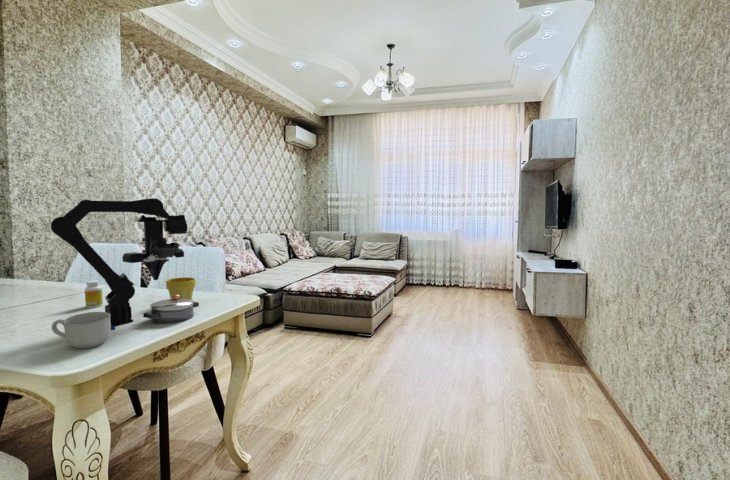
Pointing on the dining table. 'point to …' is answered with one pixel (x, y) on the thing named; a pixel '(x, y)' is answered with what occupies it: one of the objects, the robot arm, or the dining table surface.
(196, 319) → the dining table surface
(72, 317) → the teacup
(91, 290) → the supplement bottle
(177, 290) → the plant pot
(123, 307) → the robot arm
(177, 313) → the cooker pot
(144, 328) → the dining table surface
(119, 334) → the dining table surface
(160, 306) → the cooker lid
